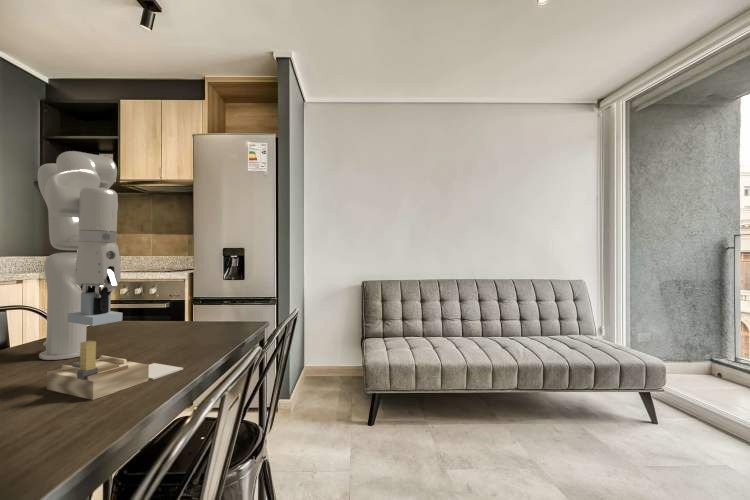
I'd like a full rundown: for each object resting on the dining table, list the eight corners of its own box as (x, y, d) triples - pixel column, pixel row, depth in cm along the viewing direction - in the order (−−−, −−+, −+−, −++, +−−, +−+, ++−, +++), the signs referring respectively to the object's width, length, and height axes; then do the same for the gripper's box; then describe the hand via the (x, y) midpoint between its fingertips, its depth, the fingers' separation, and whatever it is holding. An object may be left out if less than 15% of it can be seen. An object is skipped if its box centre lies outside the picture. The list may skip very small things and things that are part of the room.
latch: (68, 376, 82) (69, 341, 82) (83, 372, 84) (84, 338, 85) (83, 379, 80) (84, 344, 80) (97, 375, 83) (98, 341, 83)
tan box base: (46, 389, 85) (47, 367, 85) (104, 372, 97) (105, 353, 97) (93, 399, 80) (93, 376, 80) (148, 380, 92) (148, 360, 92)
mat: (123, 374, 96) (123, 372, 96) (154, 364, 105) (154, 363, 105) (153, 379, 93) (153, 378, 93) (183, 369, 101) (183, 367, 101)
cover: (67, 321, 89) (68, 293, 89) (98, 317, 95) (98, 290, 95) (92, 325, 86) (93, 296, 85) (122, 320, 92) (123, 292, 92)
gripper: (136, 239, 91) (133, 313, 91) (91, 238, 97) (89, 307, 97) (104, 238, 84) (102, 319, 84) (59, 237, 89) (56, 312, 90)
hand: (95, 312), depth 90 cm, fingers closed on cover, 3 cm apart
